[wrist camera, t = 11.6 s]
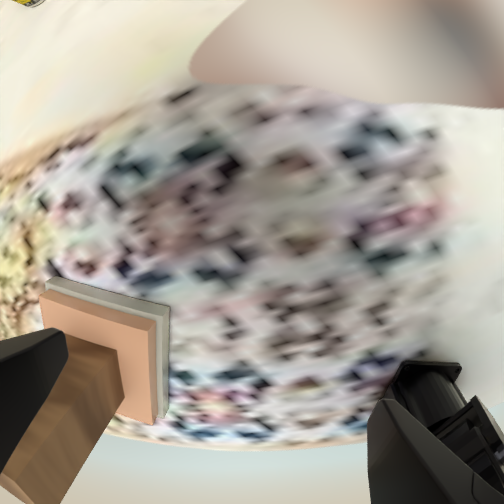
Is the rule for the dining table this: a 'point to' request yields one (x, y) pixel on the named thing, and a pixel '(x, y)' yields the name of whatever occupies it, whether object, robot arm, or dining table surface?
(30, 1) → the supplement bottle
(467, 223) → the dining table surface
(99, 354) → the walnut block
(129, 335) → the tile pedestal
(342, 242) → the dining table surface
